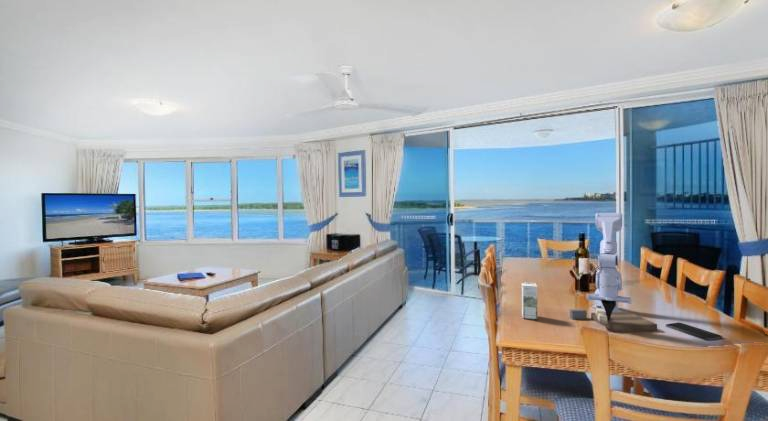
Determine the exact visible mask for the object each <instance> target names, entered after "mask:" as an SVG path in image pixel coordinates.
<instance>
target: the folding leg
mask: <svg viewBox="0 0 768 421" xmlns="http://www.w3.org/2000/svg"><path fill="white" fill-rule="evenodd" d="M594 309H595V312H594V313H596V316H597V318H598V320H599V323H598V324H600V323H606V324H607V316H606V314H605V312H604V310H603V308H601V306H596V307H594Z"/></svg>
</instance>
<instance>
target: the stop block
mask: <svg viewBox="0 0 768 421" xmlns="http://www.w3.org/2000/svg"><path fill="white" fill-rule="evenodd" d="M587 317H588V313H587V310H586V309H584V308H581V309H579V308H577V309H575V308H574V309H569V319H571V320H587Z"/></svg>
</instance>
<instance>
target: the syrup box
mask: <svg viewBox="0 0 768 421" xmlns="http://www.w3.org/2000/svg"><path fill="white" fill-rule="evenodd" d="M521 316H522V319H523V318H525V320H535V319H536V321H537V320H538V285H537V283H536V282H521Z"/></svg>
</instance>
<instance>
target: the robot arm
mask: <svg viewBox="0 0 768 421" xmlns="http://www.w3.org/2000/svg"><path fill="white" fill-rule="evenodd" d="M622 227H623V214H622V212H596V213H595V228H596V231H599V232H601V234H602V237H603V238H602V239H601V241H600V243H599V255H598V257H597V259H598V260H597V261H598V262H597V264H598V270H597V271H596V272H595V288H596V289H595V291H594V293H586V300H587V301H591V300H592V301H594V305H592V307H593V308H595V307H596V306H601V308H603V310H604V312H606V315H607V320H608V321H610V316H611V313H612V312H624V311H623V310H620V308H619V303H623V304H624V303H625V304H628V305H631V304H632V298H631V297H629V296H628V297H627V296H622V295H621V296H620V295H619V292H621V291H622V288H623V281H622V280H623V278H622V273H621V272H620V271H618V269H619V264H620V263H619V262H620V261H619V259H620V258H619V253H618V243H617V242H616V240H615V235H616V233H618V232H621V231H622V229H623V228H622Z"/></svg>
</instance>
